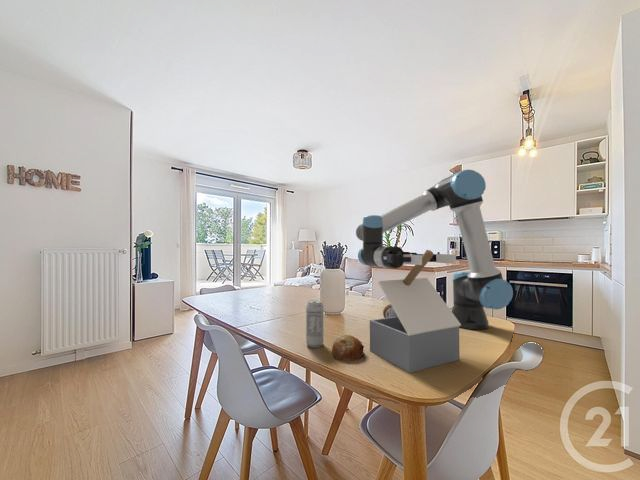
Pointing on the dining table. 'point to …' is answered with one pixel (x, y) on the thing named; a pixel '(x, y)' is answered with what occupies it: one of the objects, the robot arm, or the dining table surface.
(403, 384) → the dining table surface
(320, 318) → the energy drink can
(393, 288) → the flap
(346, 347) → the bread roll
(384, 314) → the tin
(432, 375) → the dining table surface
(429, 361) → the carton
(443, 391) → the dining table surface
